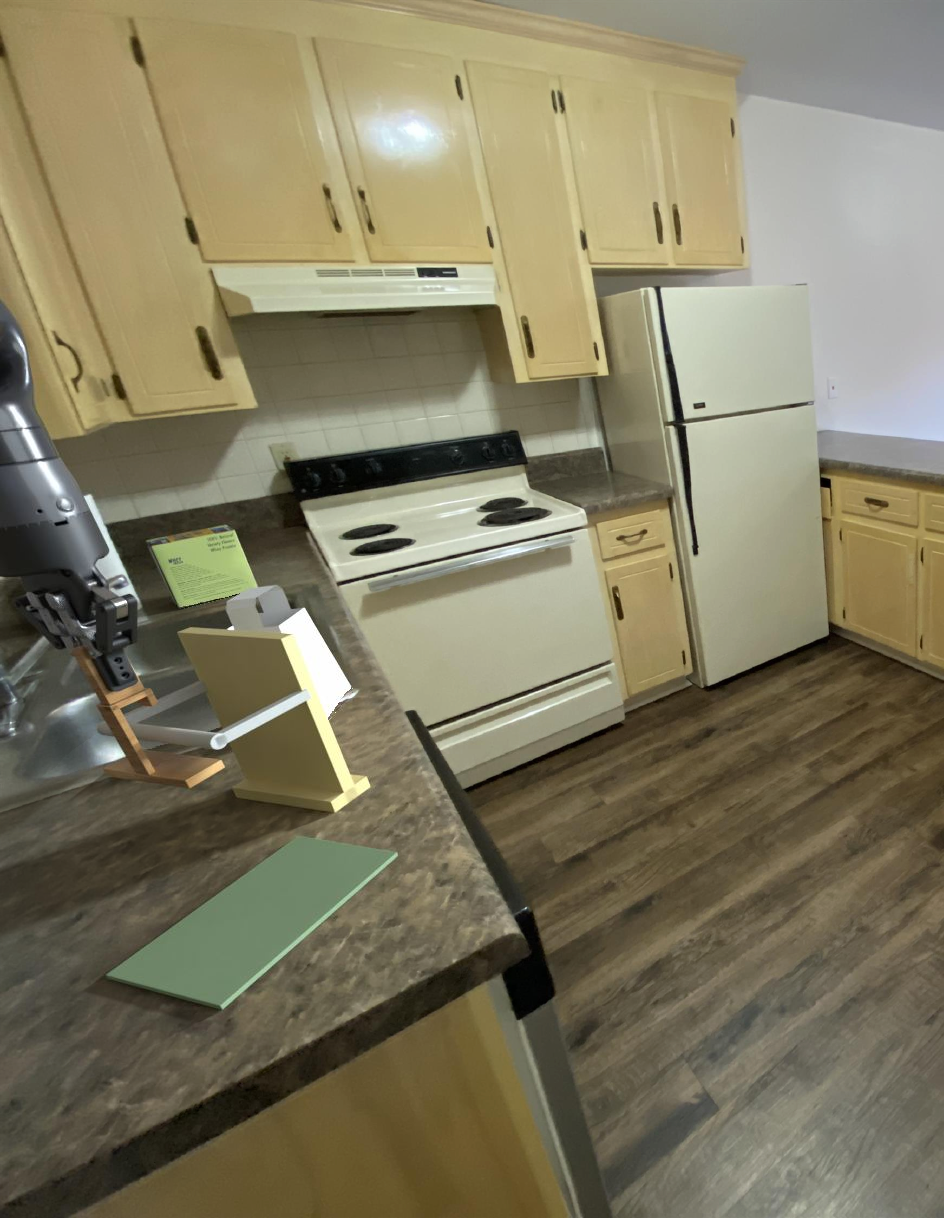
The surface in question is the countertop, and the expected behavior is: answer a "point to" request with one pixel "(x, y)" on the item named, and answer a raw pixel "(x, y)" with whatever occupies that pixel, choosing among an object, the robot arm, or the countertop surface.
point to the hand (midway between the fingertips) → (118, 686)
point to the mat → (252, 922)
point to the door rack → (259, 719)
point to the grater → (300, 624)
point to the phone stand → (137, 760)
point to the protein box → (202, 565)
